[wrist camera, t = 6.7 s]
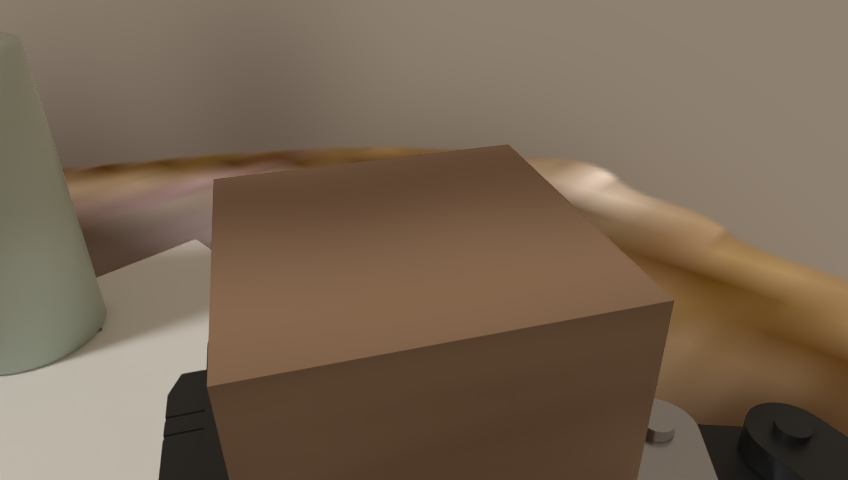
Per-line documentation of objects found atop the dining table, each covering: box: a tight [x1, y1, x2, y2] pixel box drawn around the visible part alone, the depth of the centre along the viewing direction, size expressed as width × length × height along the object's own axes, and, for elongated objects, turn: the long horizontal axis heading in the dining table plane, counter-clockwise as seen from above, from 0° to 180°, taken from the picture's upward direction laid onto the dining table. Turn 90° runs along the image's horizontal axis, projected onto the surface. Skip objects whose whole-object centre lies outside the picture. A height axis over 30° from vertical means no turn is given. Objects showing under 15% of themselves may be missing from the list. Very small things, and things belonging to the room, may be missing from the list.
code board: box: [0, 239, 211, 480], centre depth 19 cm, size 11×24×1 cm, turn 45°
